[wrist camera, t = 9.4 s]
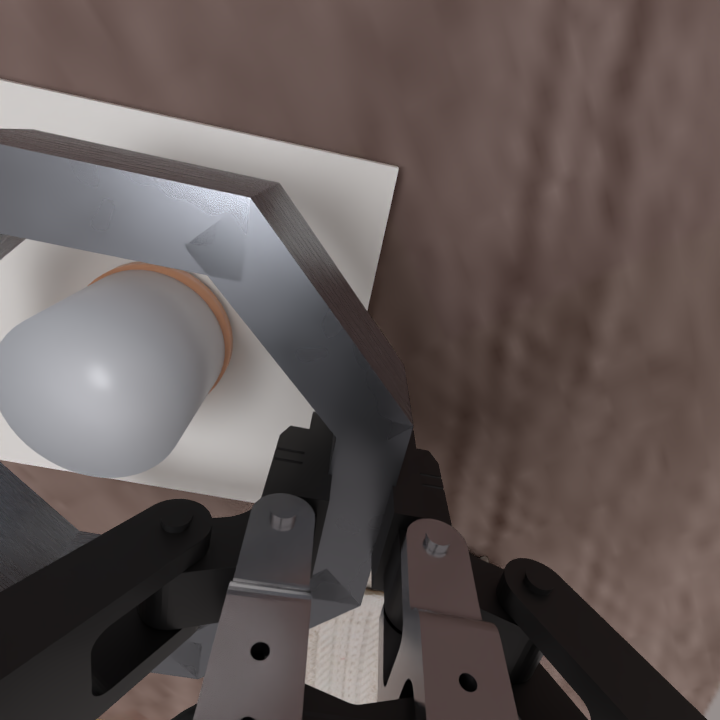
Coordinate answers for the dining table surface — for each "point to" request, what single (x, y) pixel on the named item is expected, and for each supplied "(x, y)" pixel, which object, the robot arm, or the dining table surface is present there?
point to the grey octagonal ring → (255, 307)
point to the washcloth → (348, 651)
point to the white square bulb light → (163, 316)
